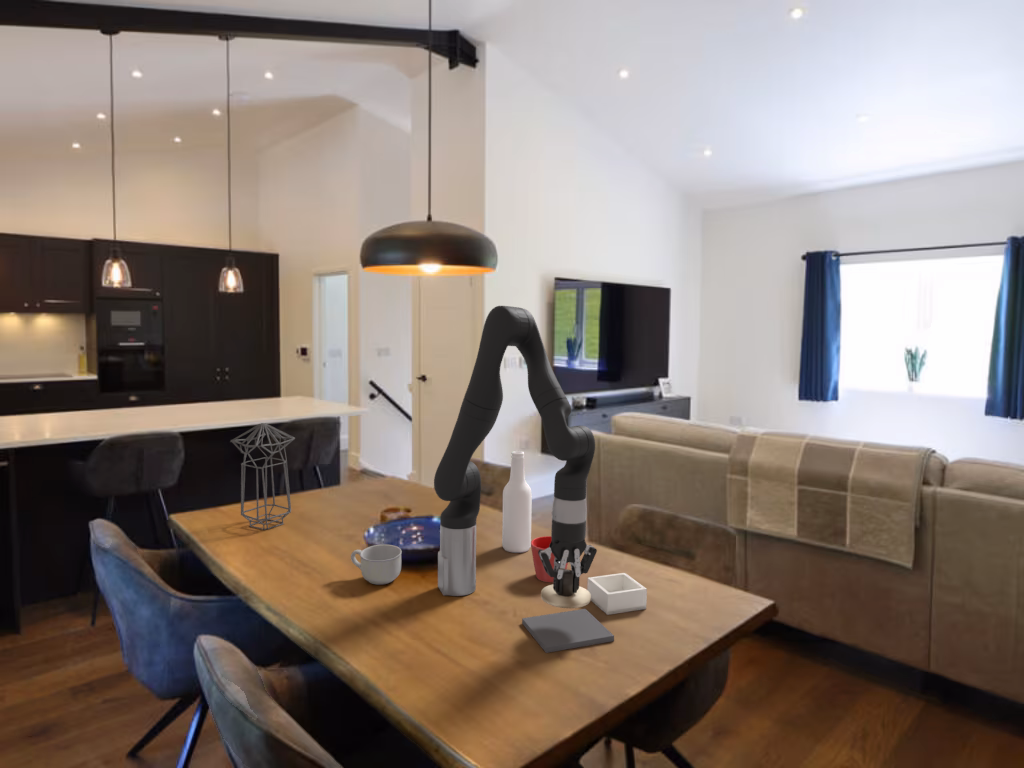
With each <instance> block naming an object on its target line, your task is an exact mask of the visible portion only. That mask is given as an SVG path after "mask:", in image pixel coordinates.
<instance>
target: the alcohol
mask: <svg viewBox="0 0 1024 768" xmlns="http://www.w3.org/2000/svg"><path fill="white" fill-rule="evenodd" d="M510 457H511V461H510V462H511V463H510V474H509V480H508V482H507V484H505V486H504V487H503V490H502V526H501V527H502V532H501V533H502V537H501V539H502V541H501V546H502V548H503V550H504V551H505V552H508V553H513V554H519V553H520V554H522V553H526V552H528V551H530V548H531V541H532V499H533V497H532V496H533V494H532V488H531V486H530V485H529V484H528V483H527V481H526V472H525V471H526V469H525V452H524V451H522V450H514V451H511V455H510Z"/></svg>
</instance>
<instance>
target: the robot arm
mask: <svg viewBox="0 0 1024 768" xmlns="http://www.w3.org/2000/svg"><path fill="white" fill-rule="evenodd" d="M478 346H479V347H478V351H477V355H476V359H475V363H474V366H473V369H472V373H471V376H470V380H469V381H468V382H469V383H468V385H467V388H466V391H465V394H464V397H463V399H462V402H461V406H460V409H459V411H458V416H457V419H456V422H455V424H454V427H453V430H452V433H451V436H450V439H449V442H448V444H447V447H446V449H445V451H444V453H443V455H442V457H441V459H440V462H439V463H438V465H437V468H436V470H435V471H436V472H435V474H434V478H433V487H434V491H435V494H436V496H437V497H438V498H439V499H441V501H445V502H449V503H448V505H447V506H446V508H444V509H443V510H442V511H441V513H440V516H439V517H440V519H439V521H440V522H439V523H440V524H439V525H440V527H439V528H440V529H439V532H440V533H439V541H440V542H439V545H440V547H439V551H437V587H438V589H439V590H440V592H441V594H442V596H453V597H460V596H467V595H470V594H472V593H474V592H475V591H476V587H477V578H476V577H477V519H478V516H479V513H480V508H481V495H482V494H481V492H482V477H481V472H480V470H479V468H478V466H477V465H476V464H475V463H474V462H473V461H471V460H472V459H471V458H472V457H473V455H474V453H475V452H476V451H477V449H478V448H479V446H480V445H481V444H482V443H483V441H484V440H485V439H486V438H487V436H488V435H489V434H490V433H491V431H492V429H493V428H494V426H495V423H496V421H497V419H498V416H499V413H500V410H501V408H502V406H503V405H502V404H503V401H504V390H503V383H502V379H501V365H502V362H503V359H504V355H505V352H506V350H507V348H508V347H515V348H516V349H517V350H518V351H519V353H520V354H521V356H522V357H523V359H524V361H525V365H526V369H527V387H528V392H529V394H530V398H531V400H532V402H533V405H534V406H535V409H536V411H537V413H538V414H539V415H540V418H541V421H542V427H543V431H544V436H545V440H546V444H547V447H548V450H549V451H550V453H551V454H552V455H553V456H554V457H555V458H556V459H558V460H559V461H563V462H565V464H564V466H562V467H561V468H560V469H559V470H557V471H556V473H555V475H554V487H553V501H552V507H551V508H552V509H551V532H550V535H551V538H552V540H551V543H550V545H549V548H547V549H545V550H539V551H538V554H539V557H540V559H541V562H542V564H543V566H544V569H545V571H546V573H547V574H548V575H549V576H550V577H554V579H553V582H552V584H553V589H554V591H555V592H556V593H557V594H558V595H562V583H563V579H562V575H563V570H564V569H565V566H566V563H568V564H570V570H572V571H573V572H574V574H573V593H577V590H578V589H579V586H580V577H581V575H583V574H588V573H589V571H590V568H591V566H592V564H593V561H594V559H595V556H596V554H597V552H598V549H597V548H596V547H595V546H594V545H592V544H587V541H586V536H587V535H586V532H587V513H588V509H587V508H588V507H587V484H588V483H587V482H588V481H587V480H588V477H589V473H590V470H591V467H592V464H593V460H594V457H595V451H596V439H595V436H594V433H593V431H592V430H591V429H590V428H589V427H587V426H585V425H573V426H568V424H567V421H566V419H567V418H568V417H569V416H571V413H572V406H571V404H570V401H569V400H568V398H567V395H566V394H565V392H564V390H563V389H562V387H561V384H560V382H559V381H558V379H557V376H556V375H555V372H554V371H553V370H554V369H553V368H552V365H551V363H550V359H549V357H548V355H547V351H546V349H545V345H544V343H543V339H542V337H541V334H540V330H539V328H538V324H537V322H536V320H535V318H534V316H533V314H532V313H531V312H530V310H527V309H526V308H524V307H523V308H522V307H518V306H509V305H498V306H497V305H496V306H495V307H493V308H492V309H491V310H490V311H489V312H488V315H487V316H486V318H485V322H484V325H483V328H482V333H481V337H480V341H479V345H478ZM551 553H553V555H554V556H555V559H554V569H553V568H552V565H551V563H550V560H549V559H550V558H551ZM582 555H583V556H582ZM581 556H582V558H581Z"/></svg>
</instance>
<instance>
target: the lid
mask: <svg viewBox="0 0 1024 768" xmlns="http://www.w3.org/2000/svg"><path fill="white" fill-rule="evenodd" d="M573 574H574V572H573V571H572V570H571V569H568V568H567V569H564V570H563V575H562V579H563V583H562V595H558V594H557V593H556V592H555V591H554V589H553V583H552V584H549V585H547V586H544V587H543V588H542V589H541V591H540V598H541V600H542V601H543V602H544V603H545V604H548V605H549V606H551V607H555V608H560V609H578V608H583V607H585V606H587V605H589V604H590V603H591V594H590V592H589V591H588V590H587V589H586V588H584V587H583V586H580V585H579V589H578V590H577V593H573Z"/></svg>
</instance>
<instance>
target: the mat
mask: <svg viewBox="0 0 1024 768" xmlns="http://www.w3.org/2000/svg"><path fill="white" fill-rule="evenodd" d="M521 619H522V620H521V624H522V625H523V626H524V628H525V629H526V630H527V631H528V632H529V634H530V635H531V636H532V637H533V639H534V640H535V642H537V644H538V645H539V646H540V647H541V648H542V649H543V651H544V652H545V654H547V653H554V652H559V651H560V652H561V651H563V650H564V651H565V650H570V649H576V648H583V647H588V646H593V645H599V644H606V643H610V642H615V635H614V634H613V633H612V632H611V631H610V630H608V628H607V627H606V626H605V625H603V623H602V622H600V621H599V620H598V619H597V618H596V617H595V616H594V615H593V614H592V613H591V612H589V611H588V610H587V609H586V608H582V609H575V610H568V611H561V612H555V613H548V614H547V613H546V614H541V615H535V616H534V615H533V616H529V617H528V616H527V617H522V618H521Z"/></svg>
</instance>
